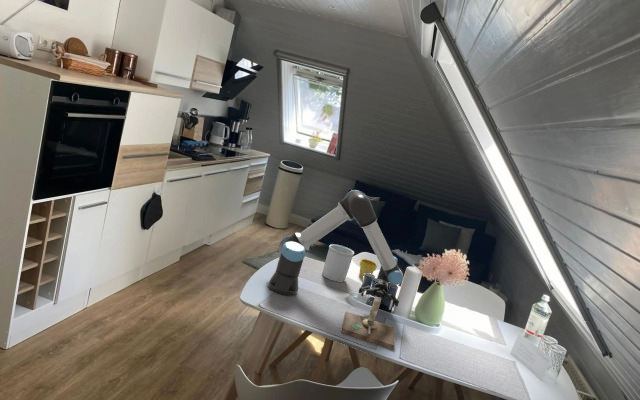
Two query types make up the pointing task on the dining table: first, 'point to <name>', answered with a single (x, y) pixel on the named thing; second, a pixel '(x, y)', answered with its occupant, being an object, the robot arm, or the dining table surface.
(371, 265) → the plant pot
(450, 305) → the dining table surface
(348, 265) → the utensil holder
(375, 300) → the peg
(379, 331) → the plate
